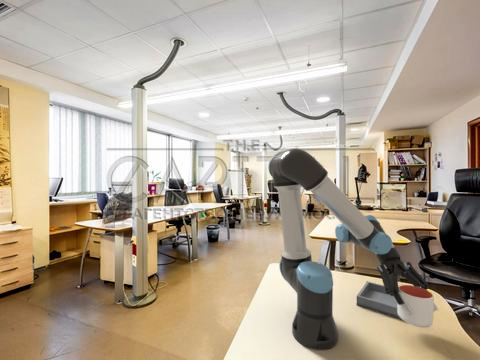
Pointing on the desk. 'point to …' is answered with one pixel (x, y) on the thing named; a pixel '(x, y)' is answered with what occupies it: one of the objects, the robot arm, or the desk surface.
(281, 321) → the desk surface
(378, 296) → the tray
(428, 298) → the cup
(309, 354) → the desk surface
